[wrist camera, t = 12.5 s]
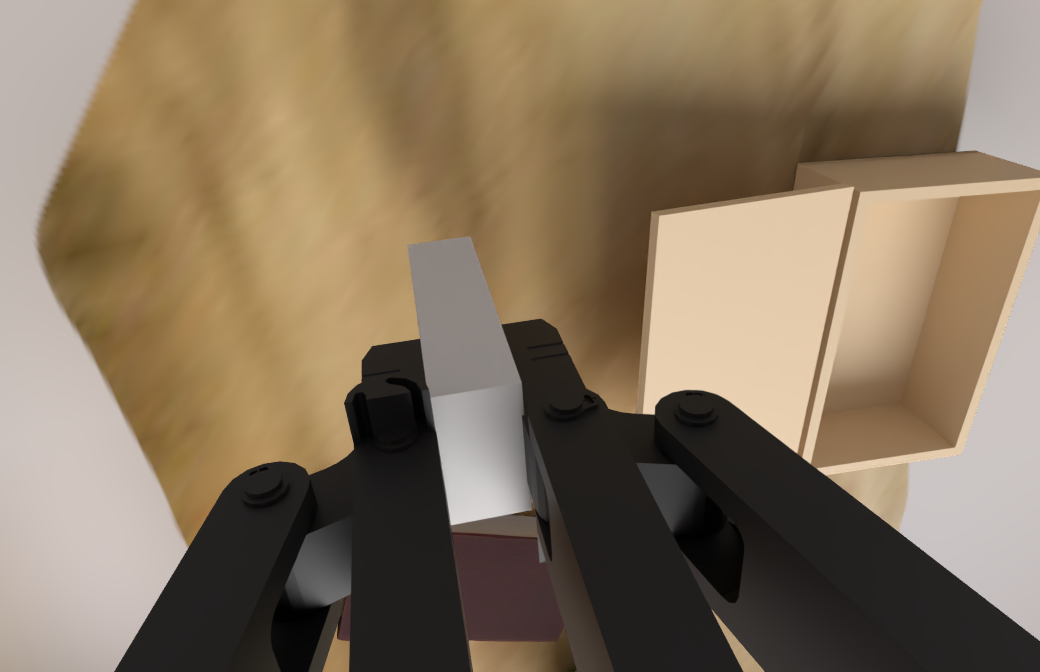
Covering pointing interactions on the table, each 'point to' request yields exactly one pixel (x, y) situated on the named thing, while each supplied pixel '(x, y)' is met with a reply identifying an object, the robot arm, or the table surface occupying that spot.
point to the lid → (742, 301)
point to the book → (499, 582)
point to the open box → (915, 303)
